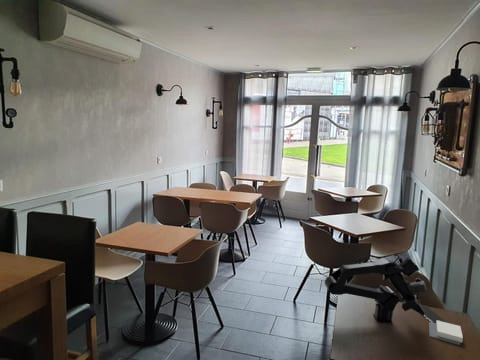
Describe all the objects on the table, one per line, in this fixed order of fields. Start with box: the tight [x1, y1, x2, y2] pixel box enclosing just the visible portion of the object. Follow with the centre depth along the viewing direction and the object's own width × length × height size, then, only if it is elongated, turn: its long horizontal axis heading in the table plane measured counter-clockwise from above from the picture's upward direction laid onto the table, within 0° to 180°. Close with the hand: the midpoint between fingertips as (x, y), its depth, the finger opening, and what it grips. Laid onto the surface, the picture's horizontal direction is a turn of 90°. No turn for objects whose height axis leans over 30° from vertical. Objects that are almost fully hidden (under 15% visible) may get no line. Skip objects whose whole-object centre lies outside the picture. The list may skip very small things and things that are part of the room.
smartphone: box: [420, 304, 448, 323], centre depth 164 cm, size 7×1×16 cm
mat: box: [428, 321, 461, 346], centre depth 149 cm, size 11×12×1 cm
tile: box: [436, 320, 464, 343], centre depth 148 cm, size 2×10×9 cm
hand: (424, 314), depth 151 cm, fingers closed
